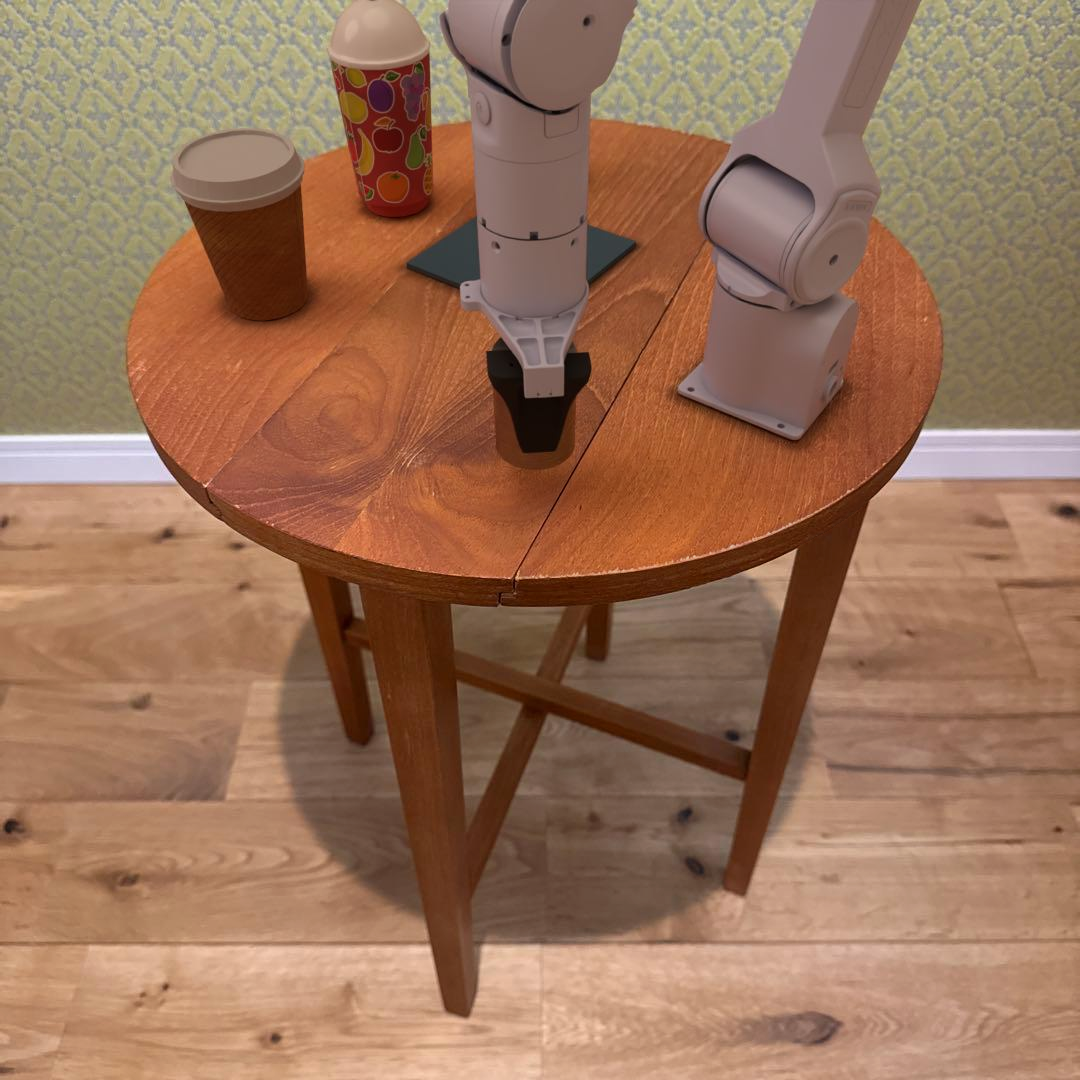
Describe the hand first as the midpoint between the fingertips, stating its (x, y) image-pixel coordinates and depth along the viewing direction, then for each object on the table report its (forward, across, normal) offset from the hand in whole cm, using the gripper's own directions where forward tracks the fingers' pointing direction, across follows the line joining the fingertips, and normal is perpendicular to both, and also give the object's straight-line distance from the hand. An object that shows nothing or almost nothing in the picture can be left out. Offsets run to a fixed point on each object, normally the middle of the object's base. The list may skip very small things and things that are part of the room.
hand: (535, 418), depth 60 cm
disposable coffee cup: (+5, -23, -20) cm, 31 cm away
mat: (+5, -28, +1) cm, 28 cm away
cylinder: (+2, 0, 0) cm, 2 cm away
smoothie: (+5, -38, -10) cm, 40 cm away
